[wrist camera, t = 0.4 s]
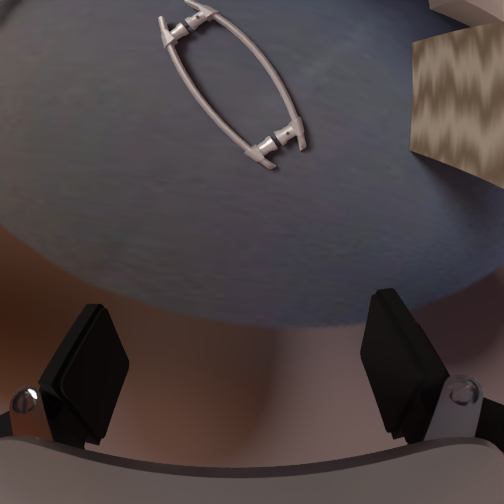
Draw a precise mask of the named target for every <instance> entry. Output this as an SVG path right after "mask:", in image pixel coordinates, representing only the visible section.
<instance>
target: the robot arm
mask: <svg viewBox="0 0 504 504" xmlns="http://www.w3.org/2000/svg"><path fill="white" fill-rule="evenodd" d="M360 355H361V360H362V363H363V365H364V368H365V371H366V373H367V376H368V379H369V382H370V385H371V387H372V391H373V393H374V396H375V399H376V402H377V405H378V408H379V411H380V414H381V417H382V420H383V423H384V426H385V429H386V431H387V432H388V433H390V432H391V434H392V437H393V439H397V438H401V437H405V440H406V442H407V443H408V444H407V445H405V446H401V447H397V448H393V449H389V450H384V451H380V452H376V453H370V454H366V455H361V456H355V457H350V458H344V459H338V460H331V461H325V462H317V463H309V464H300V465H289V466H275V467H252V468H219V467H196V466H183V465H172V464H163V463H155V462H147V461H140V460H134V459H128V458H122V457H117V456H112V455H107V454H102V453H98V452H94V451H89V450H85V447H84V445H85V442H87V443H91V444H95V445H99V444H100V441H101V439H103V438H104V437H105V435H106V432H107V429H108V426H109V423H110V420H111V417H112V414H113V411H114V408H115V405H116V402H117V399H118V397H119V394H120V391H121V388H122V385H123V383H124V380H125V377H126V375H127V372H128V369H129V360H128V357H127V355H126V353H125V350H124V349H123V346H122V344H121V341H120V339H119V337H118V334H117V332H116V329H115V327H114V325H113V322H112V319H111V317H110V314H109V312H108V310H107V309H106V308H104V307H103V305H102V304H87V305H86V306H85V307H84V309H83V310H82V312H81V313H80V315H79V316H78V318H77V319H76V321H75V322H74V324H73V325H72V327H71V328H70V330H69V331H68V333H67V335H66V336H65V338H64V339H63V341H62V343H61V344H60V346H59V347H58V349H57V351H56V352H55V354H54V356H53V357H52V359H51V361H50V362H49V364H48V366H47V368H46V369H45V371H44V373H43V374H42V376H41V378H40V380H39V381H38V383H39V385H40V386H41V387H40V389H39V390H38V389H37V388H36V387H33V386H25V387H22V388H20V389H18V390H17V391H16V392H15V393H14V394H13V396H12V397H11V399H10V402H9V411H8V412H6V413H4V414H2V415H0V504H504V405H502V404H500V403H497V402H494V401H492V400H489V399H487V398H484V397H483V389H482V386H481V385H480V383H479V382H478V381H477V380H476V379H475V378H474V377H472V376H470V375H468V374H462V373H459V374H454V375H451V376H450V375H449V373H448V371H447V370H446V368H445V366H444V364H443V363H442V361H441V359H440V358H439V356H438V354H437V353H436V351H435V349H434V347H433V346H432V344H431V343H430V341H429V339H428V338H427V336H426V334H425V333H424V331H423V330H422V328H421V326H420V325H419V324H418V323H417V322H416V321H415V319H414V318H413V316H412V315H411V313H410V312H409V310H408V309H407V307H406V306H405V304H404V303H403V301H402V300H401V298H400V297H399V295H398V294H397V292H396V291H395V289H394V288H389V289H380V290H377V292H376V294H373V295H372V297H371V302H370V307H369V312H368V318H367V323H366V328H365V332H364V337H363V341H362V346H361V351H360Z"/></svg>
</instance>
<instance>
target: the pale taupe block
mask: <svg viewBox="0 0 504 504" xmlns="http://www.w3.org/2000/svg"><path fill="white" fill-rule="evenodd" d="M429 7H430V10H433V11H435V12H438V13H440V14H443V15H445V16H448V17H450V18H453V19H455V20H457V21H459V22H462V23H464V24H466V25H468V26H470V27H475V26H480V25H485V24H491V23H497V22H503V21H504V0H429Z"/></svg>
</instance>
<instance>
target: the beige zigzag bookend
mask: <svg viewBox="0 0 504 504" xmlns="http://www.w3.org/2000/svg"><path fill="white" fill-rule="evenodd" d="M412 64H413V97H412V123H411V138H410V151H413V152H415V153H418V154H421V155H424V156H427V157H430V158H432V159H435V160H438V161H440V162H443V163H445V164H448V165H451V166H453V167H456V168H458V169H460V170H463V171H465V172H468V173H470V174H472V175H475V176H477V177H479V178H481V179H484V180H486V181H488V182H490V183H492V184H494V185H496V186H498V187H501V188H503V189H504V21H503V22H497V23H491V24H485V25H480V26H475V27H470V28H466V29H461V30H457V31H453V32H449V33H445V34H441V35H437V36H434V37H430V38H426V39H423V40H420V41H416V42H413V43H412Z"/></svg>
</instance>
